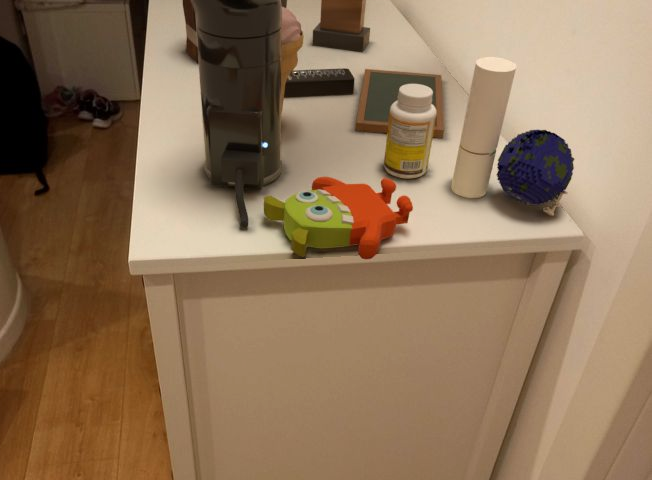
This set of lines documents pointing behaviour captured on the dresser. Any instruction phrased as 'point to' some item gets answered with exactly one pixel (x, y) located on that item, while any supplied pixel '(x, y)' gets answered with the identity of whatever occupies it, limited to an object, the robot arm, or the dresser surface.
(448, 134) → the dresser surface
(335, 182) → the toy
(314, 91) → the multiport hub
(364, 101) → the chalkboard
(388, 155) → the supplement bottle
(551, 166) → the globe
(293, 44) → the ice cream cone
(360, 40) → the duster
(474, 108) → the tube
